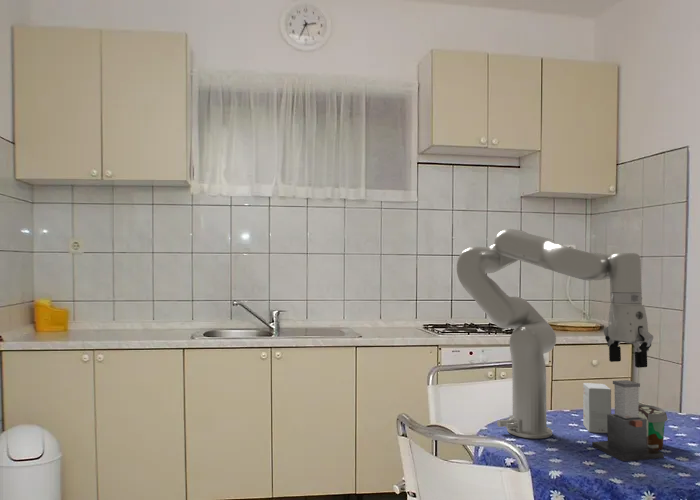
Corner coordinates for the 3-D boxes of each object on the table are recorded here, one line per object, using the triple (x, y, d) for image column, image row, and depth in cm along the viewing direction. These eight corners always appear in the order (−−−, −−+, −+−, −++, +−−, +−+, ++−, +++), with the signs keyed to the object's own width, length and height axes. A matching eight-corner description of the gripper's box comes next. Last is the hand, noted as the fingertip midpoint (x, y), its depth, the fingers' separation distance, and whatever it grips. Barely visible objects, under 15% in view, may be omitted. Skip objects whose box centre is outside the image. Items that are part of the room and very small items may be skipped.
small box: (612, 433, 165) (611, 389, 165) (589, 432, 166) (588, 388, 166) (604, 426, 172) (604, 383, 173) (582, 424, 174) (582, 382, 174)
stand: (623, 461, 141) (622, 424, 141) (592, 446, 153) (592, 412, 153) (663, 457, 144) (663, 421, 144) (630, 443, 155) (629, 409, 156)
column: (625, 449, 146) (624, 384, 146) (613, 444, 150) (612, 380, 151) (640, 448, 147) (639, 383, 147) (628, 443, 151) (627, 380, 152)
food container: (675, 454, 147) (674, 415, 147) (649, 452, 148) (649, 414, 148) (659, 440, 159) (658, 404, 159) (635, 438, 160) (635, 403, 160)
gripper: (662, 300, 142) (665, 369, 141) (615, 297, 159) (617, 358, 158) (637, 301, 140) (639, 370, 139) (592, 298, 157) (594, 360, 156)
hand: (627, 364), depth 149 cm, fingers open, 9 cm apart
